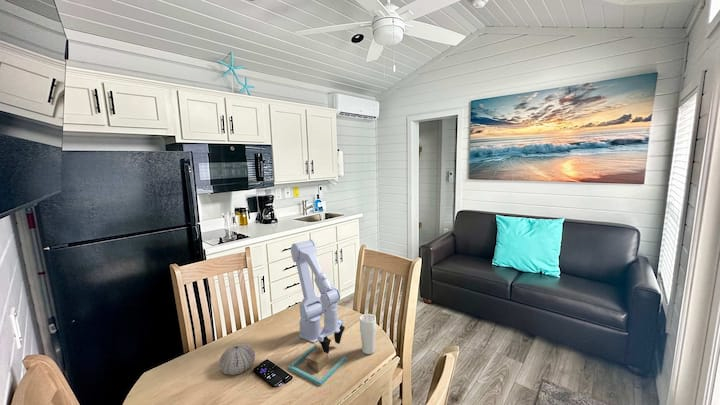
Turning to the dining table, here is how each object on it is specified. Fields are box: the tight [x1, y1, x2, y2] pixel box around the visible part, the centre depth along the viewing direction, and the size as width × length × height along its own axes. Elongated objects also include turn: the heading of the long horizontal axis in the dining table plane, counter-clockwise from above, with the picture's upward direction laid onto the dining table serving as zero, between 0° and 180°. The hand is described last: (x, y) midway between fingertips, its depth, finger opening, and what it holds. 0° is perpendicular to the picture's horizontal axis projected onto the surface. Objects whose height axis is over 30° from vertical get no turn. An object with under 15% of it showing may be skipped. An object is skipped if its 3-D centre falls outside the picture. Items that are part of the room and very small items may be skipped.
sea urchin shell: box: [218, 343, 256, 376], centre depth 116 cm, size 13×14×8 cm
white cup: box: [359, 313, 377, 355], centre depth 122 cm, size 7×7×15 cm
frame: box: [287, 343, 347, 387], centre depth 116 cm, size 16×16×1 cm
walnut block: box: [305, 348, 329, 374], centre depth 115 cm, size 6×6×4 cm
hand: (332, 347), depth 123 cm, fingers open, 7 cm apart
